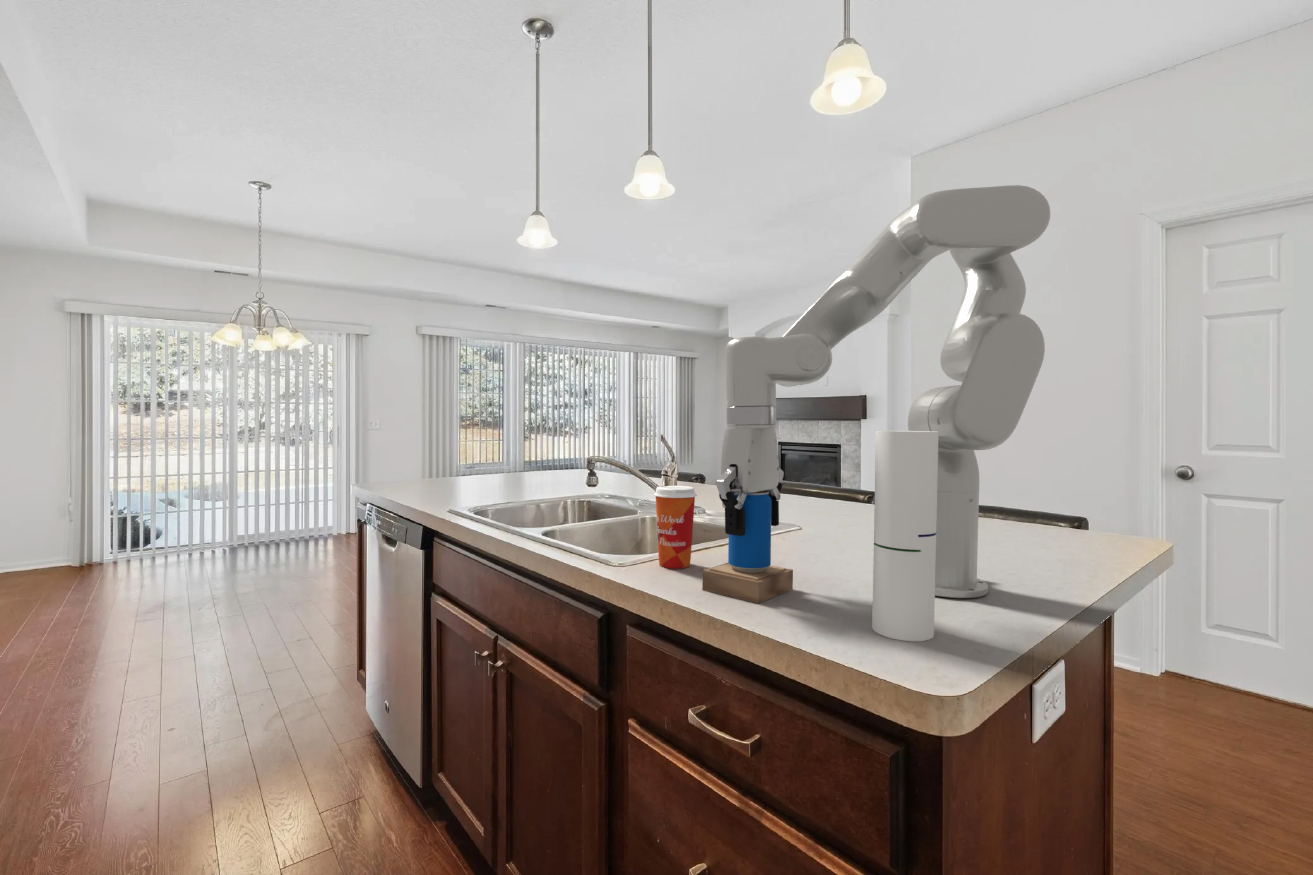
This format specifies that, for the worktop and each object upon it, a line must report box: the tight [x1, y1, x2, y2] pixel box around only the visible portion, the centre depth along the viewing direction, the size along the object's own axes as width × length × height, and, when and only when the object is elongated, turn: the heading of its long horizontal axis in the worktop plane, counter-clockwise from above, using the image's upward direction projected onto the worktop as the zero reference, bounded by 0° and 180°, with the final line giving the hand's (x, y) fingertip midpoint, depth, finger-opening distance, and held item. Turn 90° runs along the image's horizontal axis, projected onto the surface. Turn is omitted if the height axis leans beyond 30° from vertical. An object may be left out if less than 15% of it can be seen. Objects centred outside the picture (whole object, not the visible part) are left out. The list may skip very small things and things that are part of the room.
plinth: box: [701, 562, 794, 604], centre depth 92 cm, size 10×10×3 cm
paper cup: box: [653, 485, 697, 570], centre depth 106 cm, size 8×8×14 cm
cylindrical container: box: [871, 430, 938, 642], centre depth 74 cm, size 7×7×25 cm
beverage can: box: [727, 491, 772, 573], centre depth 91 cm, size 6×6×12 cm
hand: (752, 529), depth 91 cm, fingers open, 9 cm apart
